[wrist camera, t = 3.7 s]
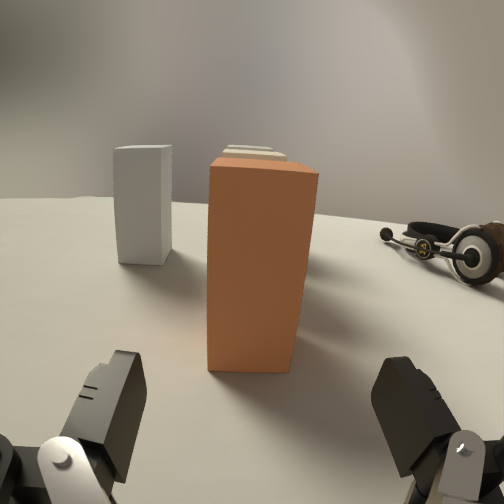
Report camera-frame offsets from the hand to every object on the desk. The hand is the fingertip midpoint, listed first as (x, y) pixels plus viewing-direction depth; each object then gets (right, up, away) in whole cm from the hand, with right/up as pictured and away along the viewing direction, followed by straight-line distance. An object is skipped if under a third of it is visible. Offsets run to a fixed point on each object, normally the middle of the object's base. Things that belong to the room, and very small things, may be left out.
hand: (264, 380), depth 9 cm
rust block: (-1, -2, +11) cm, 12 cm away
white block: (-12, +4, +25) cm, 28 cm away
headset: (+28, +2, +29) cm, 41 cm away
